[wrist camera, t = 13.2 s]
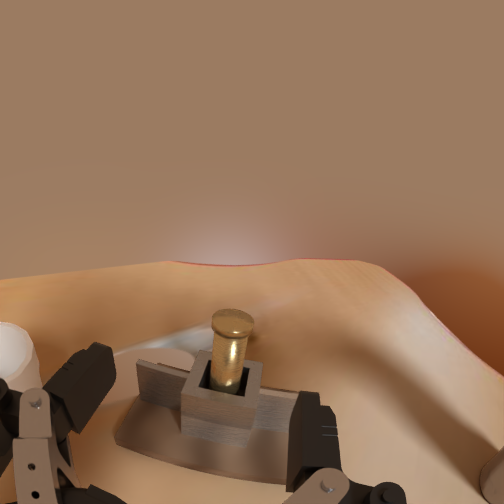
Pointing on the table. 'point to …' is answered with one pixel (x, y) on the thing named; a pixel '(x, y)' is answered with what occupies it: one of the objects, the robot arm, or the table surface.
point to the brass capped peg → (229, 349)
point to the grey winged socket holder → (216, 401)
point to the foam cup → (18, 359)
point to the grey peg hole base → (203, 445)
